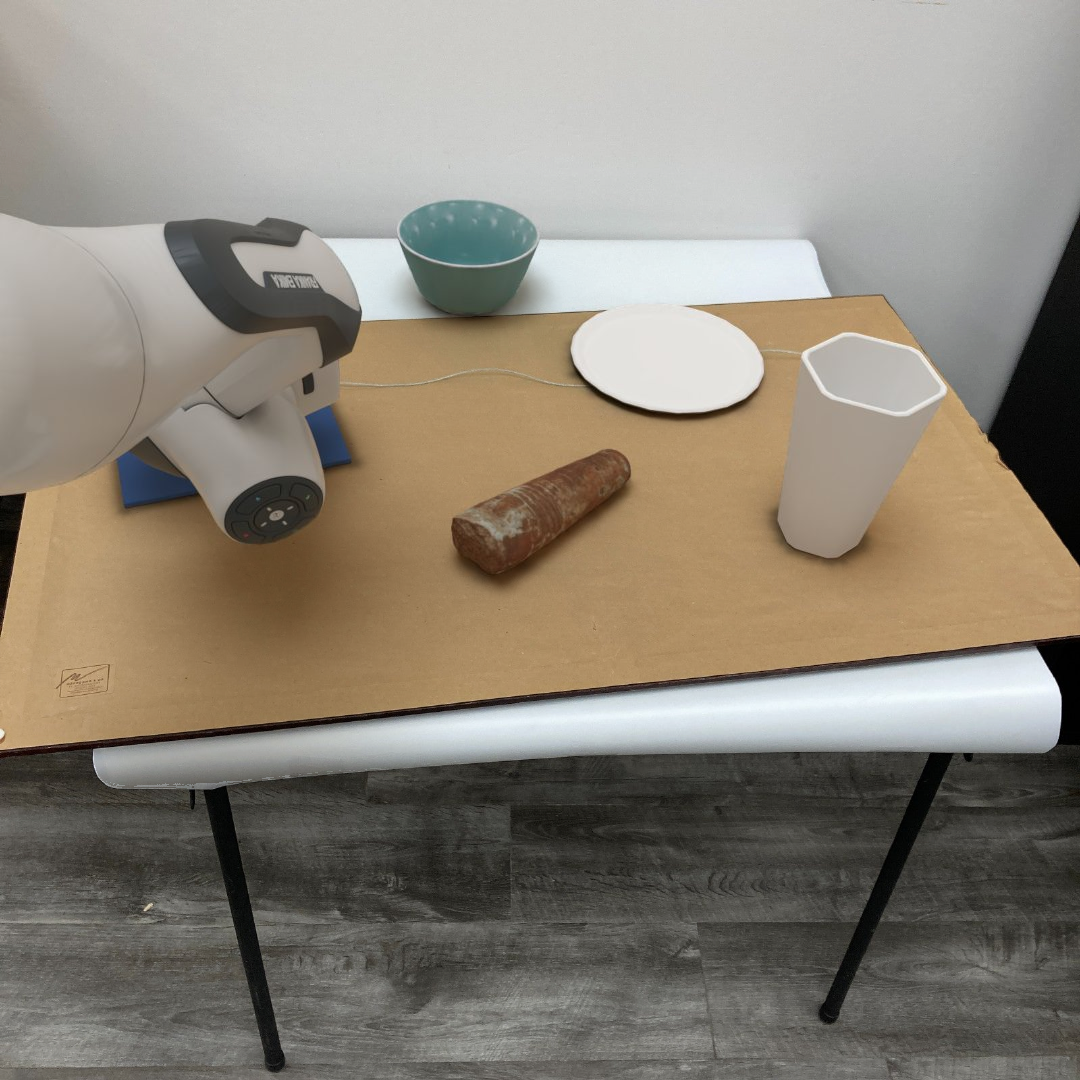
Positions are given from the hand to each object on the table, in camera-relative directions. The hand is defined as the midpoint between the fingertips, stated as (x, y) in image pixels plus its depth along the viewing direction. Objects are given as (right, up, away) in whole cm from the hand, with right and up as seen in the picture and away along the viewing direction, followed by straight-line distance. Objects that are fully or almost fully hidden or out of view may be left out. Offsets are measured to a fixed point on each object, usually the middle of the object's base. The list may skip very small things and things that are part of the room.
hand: (200, 302), depth 86 cm
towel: (-1, -9, +8) cm, 12 cm away
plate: (+44, -2, +20) cm, 48 cm away
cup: (+55, -20, +2) cm, 59 cm away
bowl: (+22, +7, +27) cm, 35 cm away
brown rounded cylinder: (+30, -19, +1) cm, 36 cm away
